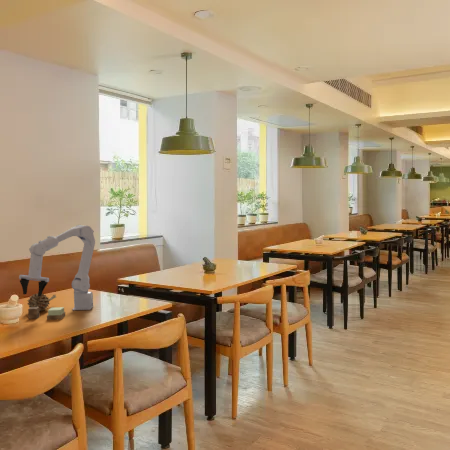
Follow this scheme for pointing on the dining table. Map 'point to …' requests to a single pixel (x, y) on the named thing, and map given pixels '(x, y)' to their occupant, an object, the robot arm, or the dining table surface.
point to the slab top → (56, 311)
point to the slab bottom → (55, 317)
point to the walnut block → (33, 312)
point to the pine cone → (39, 301)
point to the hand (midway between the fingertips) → (32, 295)
